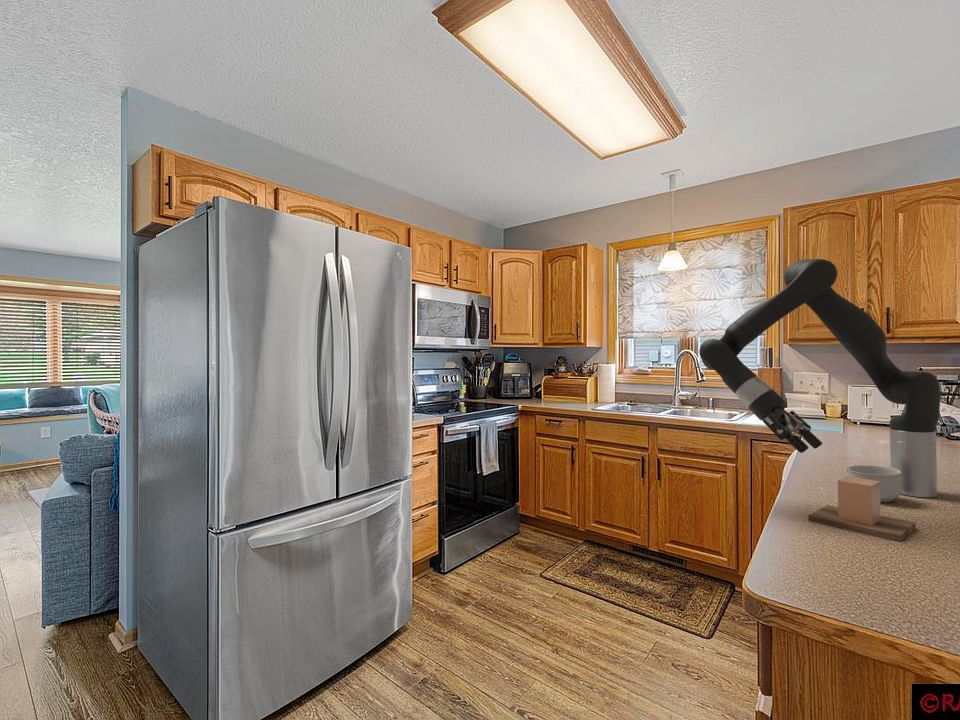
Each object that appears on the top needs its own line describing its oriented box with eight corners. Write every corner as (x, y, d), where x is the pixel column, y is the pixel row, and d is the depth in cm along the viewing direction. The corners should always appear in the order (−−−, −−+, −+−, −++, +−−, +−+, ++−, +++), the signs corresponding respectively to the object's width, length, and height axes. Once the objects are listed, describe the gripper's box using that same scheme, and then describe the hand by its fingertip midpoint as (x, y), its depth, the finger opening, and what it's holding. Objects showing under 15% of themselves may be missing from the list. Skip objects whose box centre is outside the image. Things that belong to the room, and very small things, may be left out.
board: (827, 510, 114) (827, 505, 114) (915, 528, 101) (915, 522, 101) (808, 520, 107) (808, 515, 107) (899, 541, 94) (899, 535, 94)
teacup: (913, 506, 116) (912, 474, 116) (863, 504, 118) (862, 472, 118) (877, 490, 129) (876, 462, 129) (833, 489, 131) (832, 461, 131)
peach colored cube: (847, 512, 108) (846, 476, 108) (880, 519, 103) (879, 481, 103) (838, 518, 104) (837, 480, 104) (872, 525, 100) (871, 485, 100)
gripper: (758, 389, 114) (813, 442, 105) (782, 387, 122) (836, 435, 113) (736, 409, 118) (787, 462, 109) (761, 405, 127) (811, 454, 117)
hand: (812, 448), depth 111 cm, fingers open, 8 cm apart
